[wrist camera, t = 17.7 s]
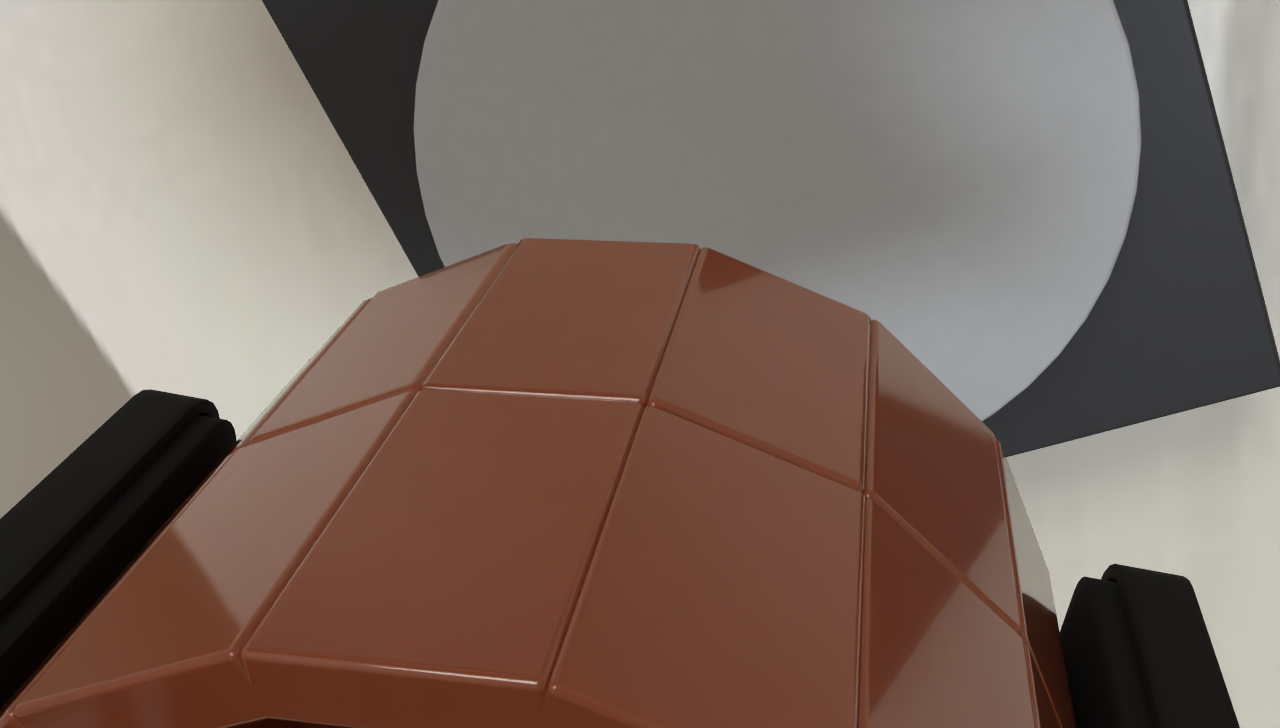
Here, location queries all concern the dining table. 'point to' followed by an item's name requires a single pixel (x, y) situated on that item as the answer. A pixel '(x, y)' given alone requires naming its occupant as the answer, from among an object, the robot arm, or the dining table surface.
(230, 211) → the dining table surface
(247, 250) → the dining table surface
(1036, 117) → the scale
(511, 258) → the plant pot
